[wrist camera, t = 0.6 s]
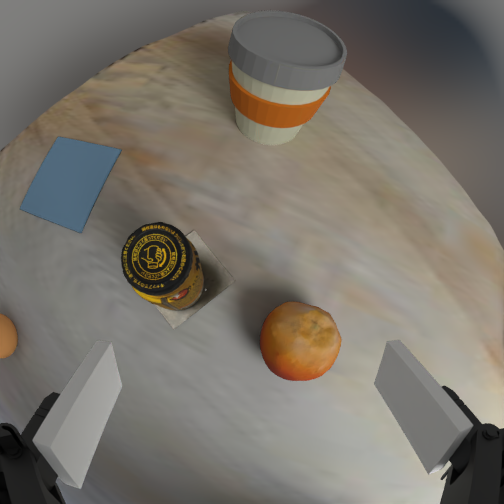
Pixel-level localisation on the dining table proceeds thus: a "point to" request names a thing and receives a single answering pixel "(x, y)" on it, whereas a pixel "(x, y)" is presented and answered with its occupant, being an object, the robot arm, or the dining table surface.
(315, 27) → the reusable coffee cup
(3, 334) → the ball
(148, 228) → the condiment
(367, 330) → the dining table surface
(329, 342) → the fruit
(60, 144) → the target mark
